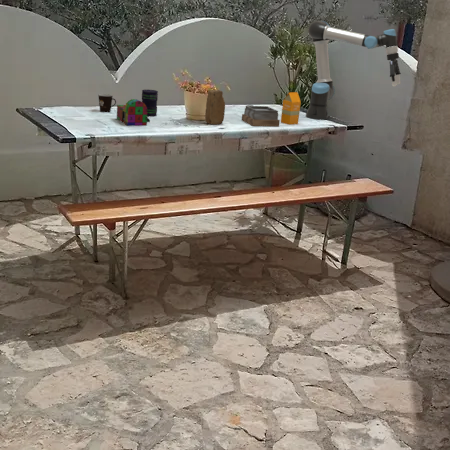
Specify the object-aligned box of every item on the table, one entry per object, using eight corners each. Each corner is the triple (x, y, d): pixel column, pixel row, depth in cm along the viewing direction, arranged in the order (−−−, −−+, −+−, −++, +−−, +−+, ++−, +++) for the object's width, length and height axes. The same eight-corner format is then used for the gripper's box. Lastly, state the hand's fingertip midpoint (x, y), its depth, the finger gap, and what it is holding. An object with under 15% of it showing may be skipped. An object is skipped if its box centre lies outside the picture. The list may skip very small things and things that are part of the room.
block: (208, 124, 360) (211, 91, 353) (203, 122, 367) (206, 89, 360) (224, 124, 365) (227, 91, 358) (219, 122, 371) (222, 89, 364)
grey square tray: (241, 120, 384) (243, 105, 381) (266, 120, 391) (268, 106, 387) (252, 126, 369) (254, 110, 365) (278, 126, 375) (280, 111, 372)
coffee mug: (95, 110, 372) (95, 94, 368) (108, 109, 377) (108, 93, 373) (104, 113, 363) (104, 97, 360) (116, 113, 368) (117, 97, 365)
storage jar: (137, 114, 371) (138, 90, 366) (148, 112, 379) (149, 89, 374) (149, 117, 366) (150, 92, 361) (160, 115, 374) (161, 91, 368)
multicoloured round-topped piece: (155, 125, 345) (156, 101, 340) (127, 126, 337) (128, 100, 332) (140, 117, 365) (141, 93, 360) (113, 117, 358) (114, 93, 353)
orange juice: (298, 123, 390) (302, 92, 383) (289, 124, 384) (293, 93, 377) (289, 121, 395) (293, 90, 388) (280, 122, 389) (284, 91, 382)
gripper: (394, 53, 386) (398, 86, 391) (401, 51, 408) (405, 82, 412) (382, 55, 390) (387, 88, 395) (390, 53, 411) (394, 84, 416)
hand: (396, 85), depth 404 cm, fingers open, 13 cm apart
